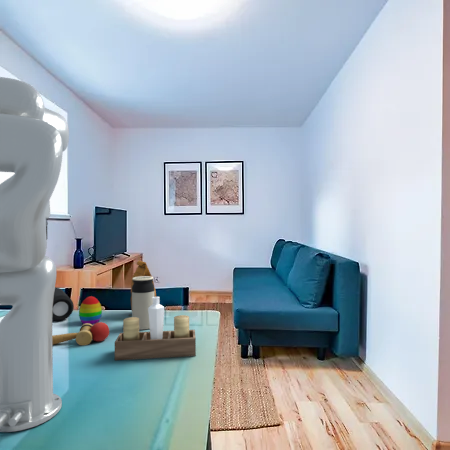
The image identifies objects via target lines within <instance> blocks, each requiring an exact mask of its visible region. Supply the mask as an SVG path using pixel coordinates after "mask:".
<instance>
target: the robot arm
mask: <svg viewBox="0 0 450 450" xmlns="http://www.w3.org/2000/svg"><path fill="white" fill-rule="evenodd" d="M69 140H70V130H69V125H68V122H67V120H66V118H65V117H64V116H63V115H62V114H60V113H59V112H56V111H53V110H51V109H50V108H47V107H45V102H44V100H43V98H42V95H41V93H39V91H38V90H37V89H36V88H35V87H33V86H32V85H31V84H29V83H27V82H25V81H22V80H19V79H16V78H11V77H3V76H0V172H1V173H14V174H13V175H12V176H10V177H9V178H7V179H6V180H4V181H3V182H1V183H0V306H12V308H10V310H9V311H8V312H7V313H6V315H5V316H4V317H3V318H2V319H1V321H0V433H11V432H12V433H13V432H19V431H24V430H25V431H26V430H28V429H31V428H34V427H38V426H39V425H42V424H43V423H46V422H48V421H49V420H51V419H52V418H54V417H55V416H56V415H57V414H58V413H59V411H60V410H61V408H62V404H63V403H62V401H63V400H62V397H60V396H59V395H58V394H56V393H54V369H53V366H54V364H53V358H54V357H53V356H54V355H53V354H54V353H53V351H54V350H53V345H52V336H53V320H52V310H53V297H54V290H55V288H56V281H57V266H56V263H55V261H54V260H53V259H52V258H50V257H49V256H46V253H47V248H48V247H47V243H48V242H47V241H48V224H49V223H48V220H49V218H50V217H51V201H50V199H51V198H52V195H53V193H54V191H55V188H56V186H57V184H58V181H59V177H60V173H61V169H62V163H63V152H65V151H66V150H67V147H68V145H69Z"/></svg>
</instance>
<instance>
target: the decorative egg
mask: <svg viewBox="0 0 450 450" xmlns="http://www.w3.org/2000/svg"><path fill="white" fill-rule="evenodd" d="M78 310H79V311H78V317H79V320H80V322H81V323H82V325H83V324H86V323H89V324H91V325H94V324H96V323H98V322H100V320H101V318H102V314H103V309H102V304H101V303H100V301H99V300H98V298H96V297H95V296H92V295H91V296H87V297H86V298H85V299H84V300H82V302H81V304H80V307H79V309H78Z"/></svg>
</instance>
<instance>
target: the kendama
mask: <svg viewBox="0 0 450 450" xmlns="http://www.w3.org/2000/svg"><path fill="white" fill-rule="evenodd" d="M109 336H110V328H109V326H108V324H107V323H106V322H104V321H103V322H102V321H99V322H97V323H95V324H89V323H86V324H83V323H82V325H81V326H80V328H79V331H78V332H69V333H61V334H52V346H53V345H57V344H60V343H65V342H68V341H72V340H75V341H76V343H77V345H79V346H89V344H91V343H92V341H95V342H96V343H97V342H103V341H105V340H106V339H107V338H108V337H109Z"/></svg>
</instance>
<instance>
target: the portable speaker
mask: <svg viewBox="0 0 450 450" xmlns="http://www.w3.org/2000/svg"><path fill="white" fill-rule="evenodd" d="M74 308H75V307H74V301H73V300H72V299H71V298H70V297H69V295H68V294H66V292H65V291H64V290H63V289H61V288H59V287H55V290H54V297H53V310H52V321H55V322H61V321H65V320H67V319H68V318H69V317H70V316H71V315H72V313H73V312H74Z"/></svg>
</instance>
